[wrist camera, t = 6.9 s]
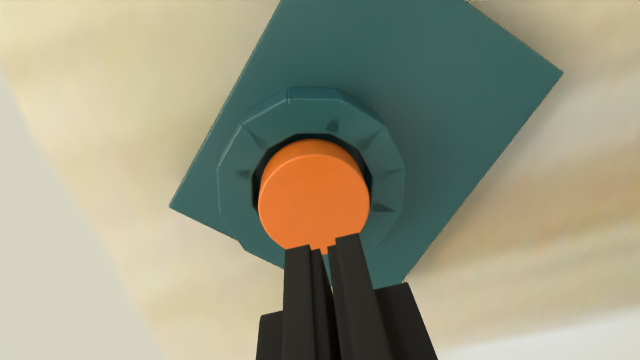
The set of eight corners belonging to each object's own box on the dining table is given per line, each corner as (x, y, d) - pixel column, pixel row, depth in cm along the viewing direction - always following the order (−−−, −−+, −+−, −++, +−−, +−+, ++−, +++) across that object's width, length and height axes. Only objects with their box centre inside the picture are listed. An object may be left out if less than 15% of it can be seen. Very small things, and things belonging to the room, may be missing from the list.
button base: (327, -85, 17) (339, -106, 13) (535, 63, 19) (595, 81, 15) (179, 185, 20) (155, 229, 16) (372, 281, 23) (388, 339, 19)
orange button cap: (293, 118, 16) (294, 133, 14) (382, 169, 17) (392, 188, 15) (242, 203, 17) (237, 226, 15) (328, 247, 18) (332, 273, 16)
